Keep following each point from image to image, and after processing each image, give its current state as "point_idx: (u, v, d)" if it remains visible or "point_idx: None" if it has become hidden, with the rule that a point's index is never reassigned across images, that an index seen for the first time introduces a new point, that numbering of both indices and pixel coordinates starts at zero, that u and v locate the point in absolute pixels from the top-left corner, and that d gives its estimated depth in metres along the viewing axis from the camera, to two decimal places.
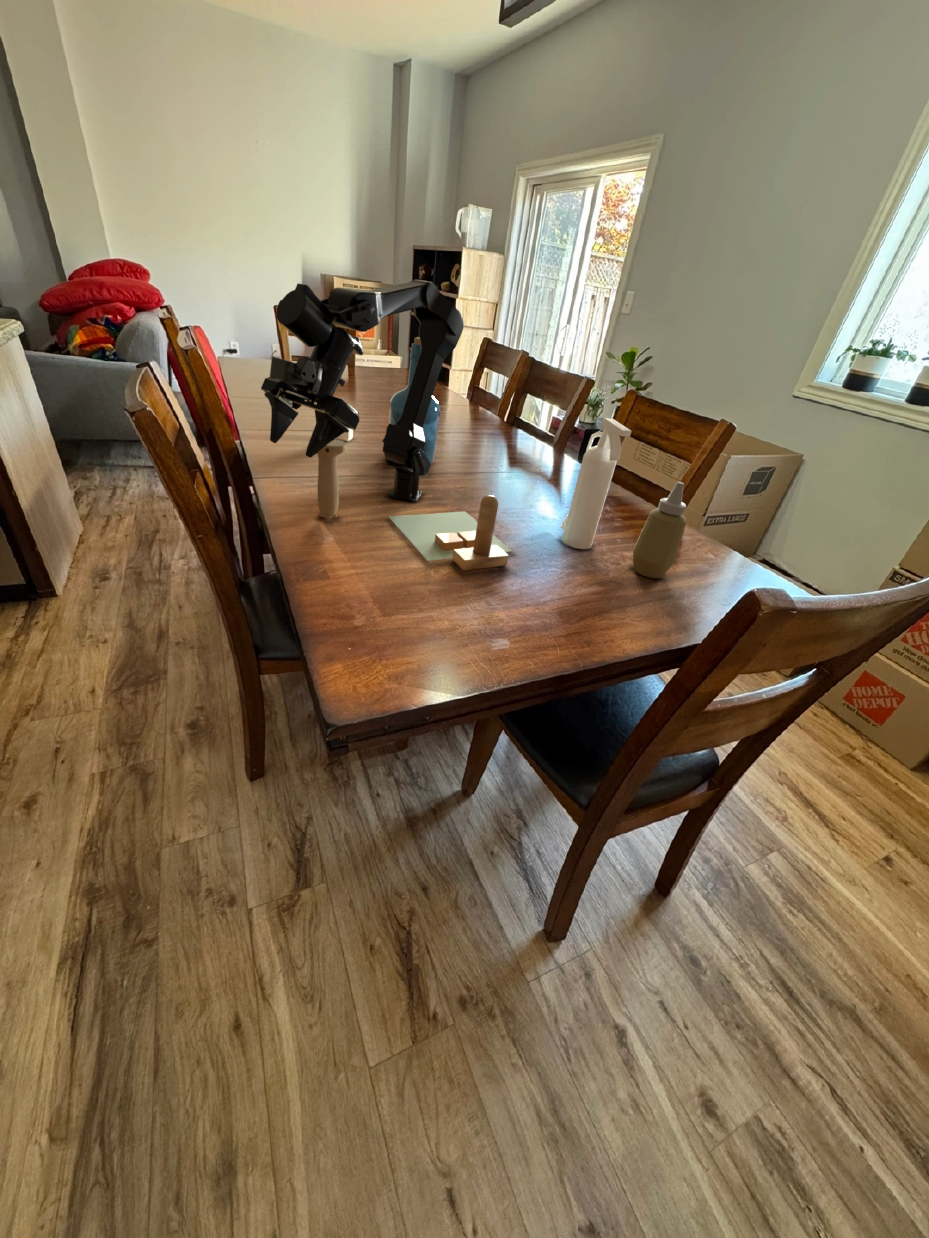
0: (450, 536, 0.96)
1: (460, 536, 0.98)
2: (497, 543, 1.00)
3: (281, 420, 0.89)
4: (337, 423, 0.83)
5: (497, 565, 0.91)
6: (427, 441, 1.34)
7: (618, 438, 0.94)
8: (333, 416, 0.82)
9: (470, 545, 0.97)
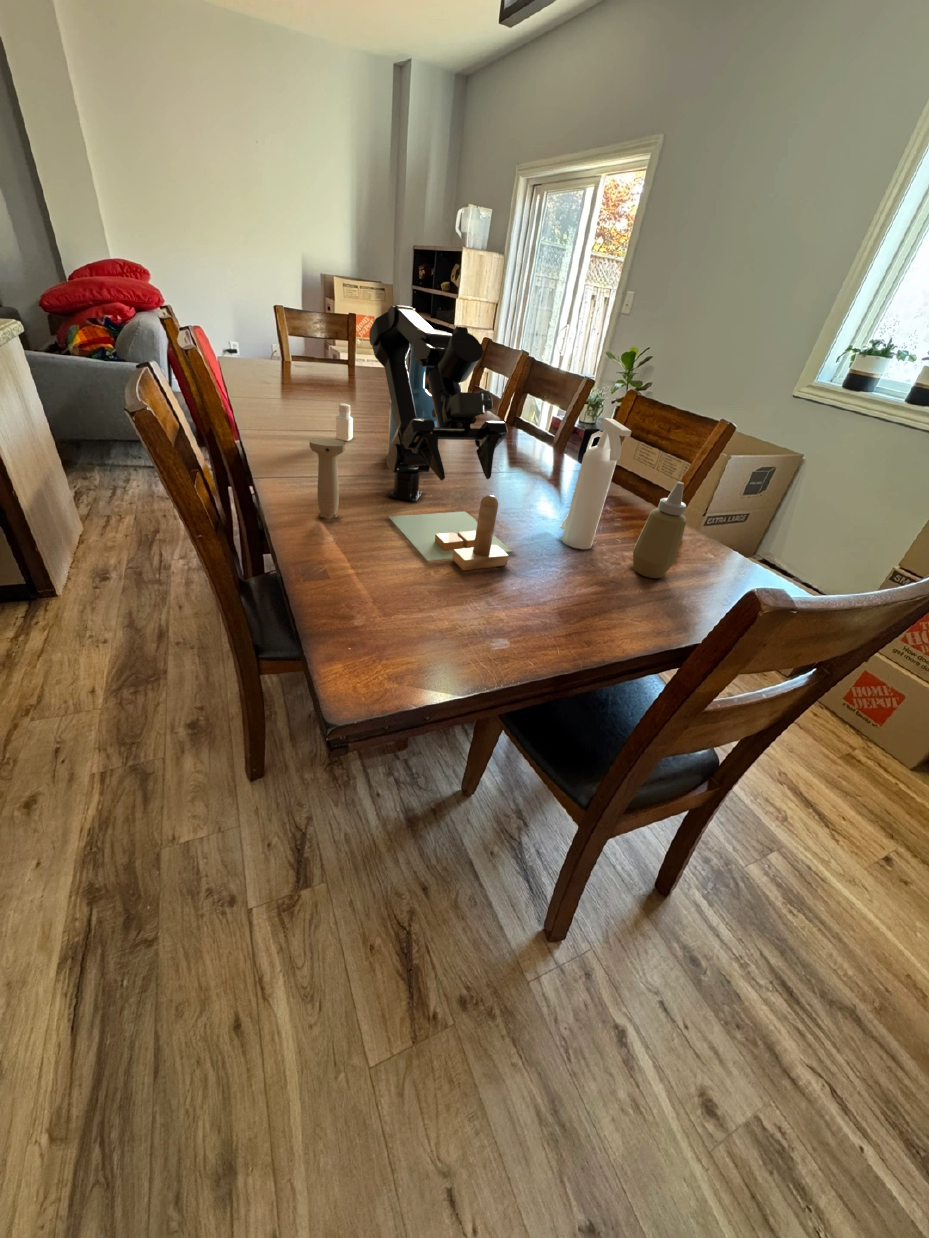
0: (450, 536, 0.96)
1: (460, 536, 0.98)
2: (497, 543, 1.00)
3: None
4: None
5: (497, 565, 0.91)
6: None
7: (618, 438, 0.94)
8: None
9: (470, 545, 0.97)
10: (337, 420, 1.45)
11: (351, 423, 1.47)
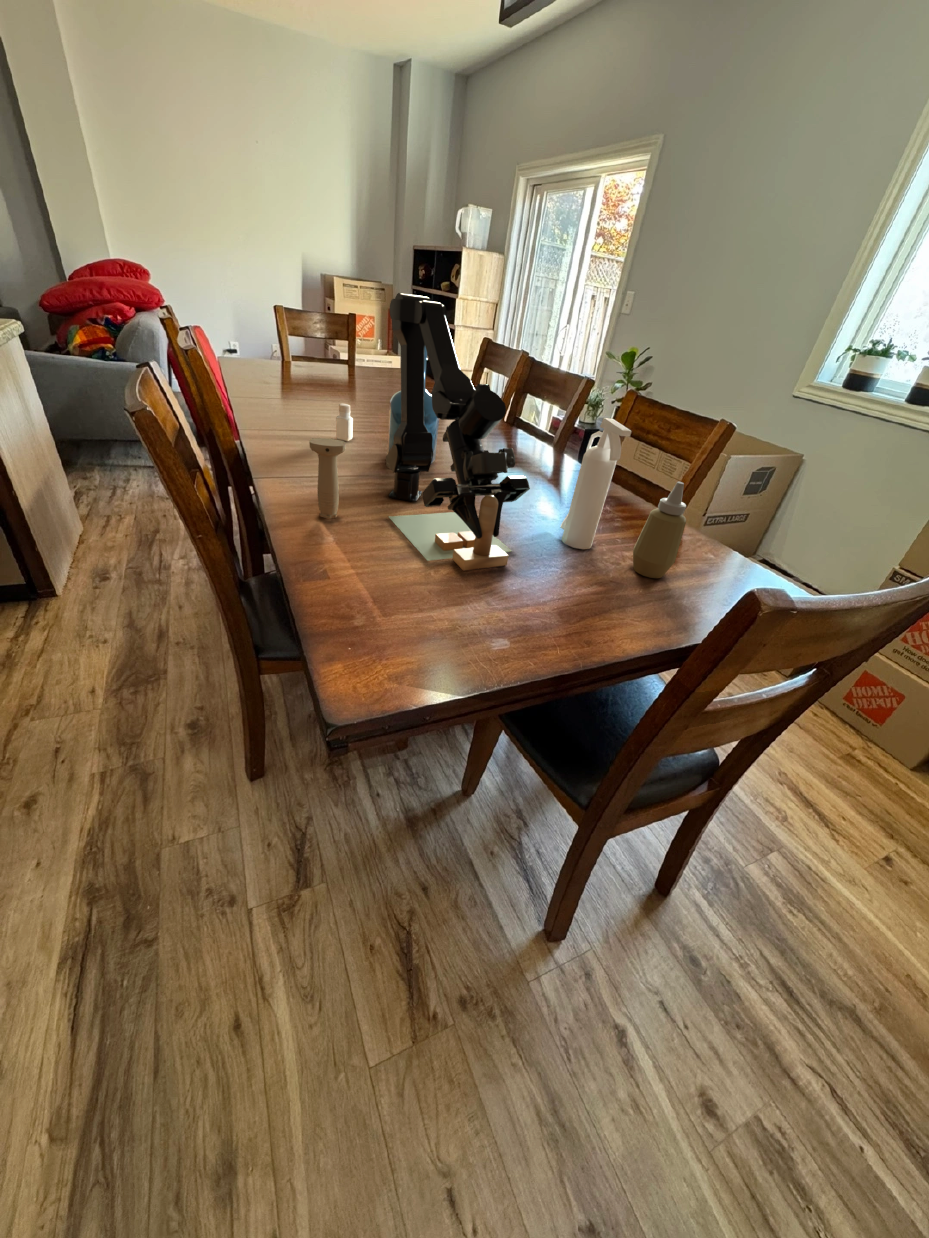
0: (450, 536, 0.96)
1: (460, 536, 0.98)
2: (497, 543, 1.00)
3: None
4: (504, 498, 0.91)
5: (497, 565, 0.91)
6: None
7: (618, 438, 0.94)
8: None
9: (470, 545, 0.97)
10: (337, 420, 1.45)
11: (351, 423, 1.47)
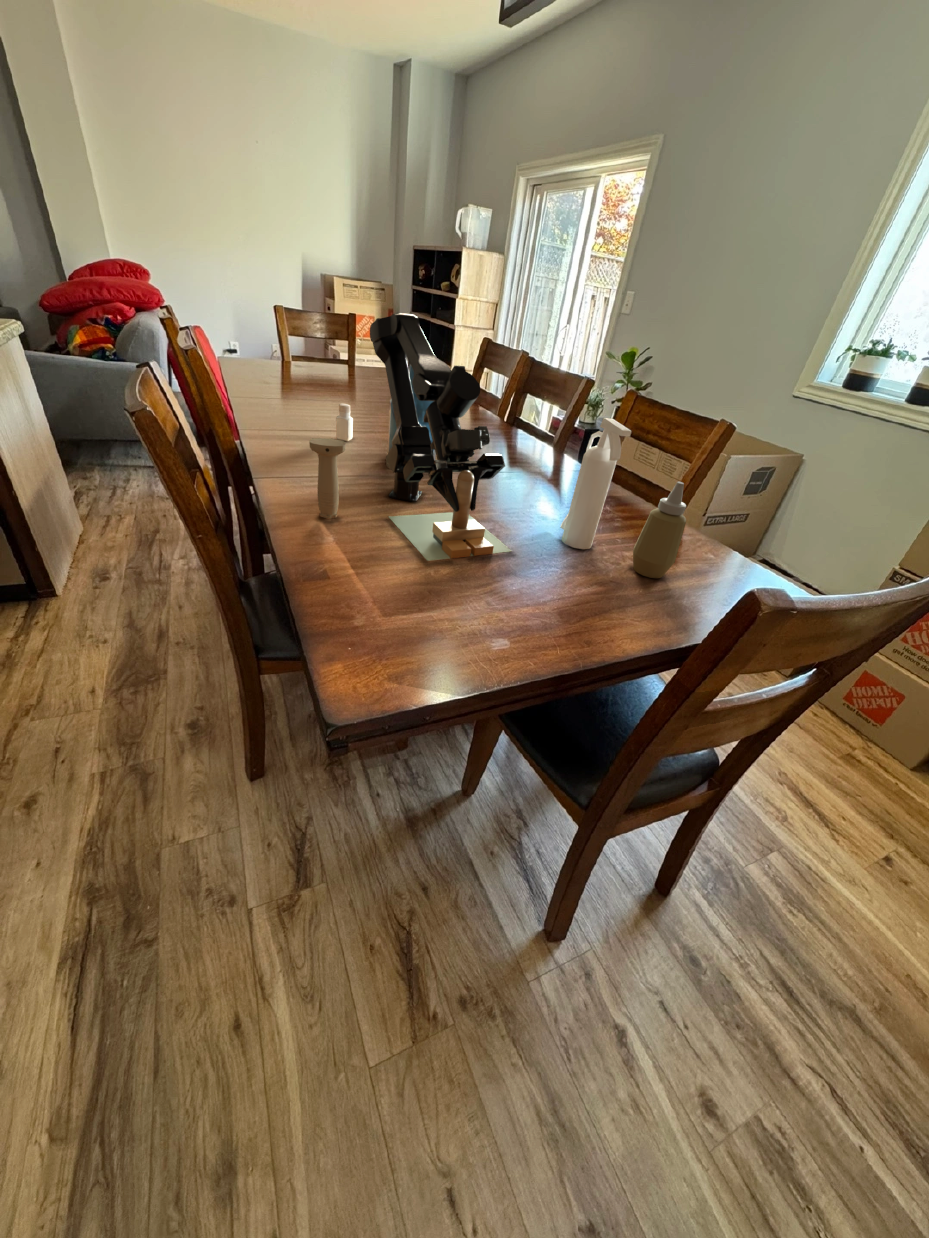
0: (457, 543, 0.94)
1: (468, 543, 0.96)
2: (497, 543, 1.00)
3: None
4: (481, 475, 0.97)
5: None
6: None
7: (618, 438, 0.94)
8: None
9: (478, 553, 0.94)
10: (337, 420, 1.45)
11: (351, 423, 1.47)
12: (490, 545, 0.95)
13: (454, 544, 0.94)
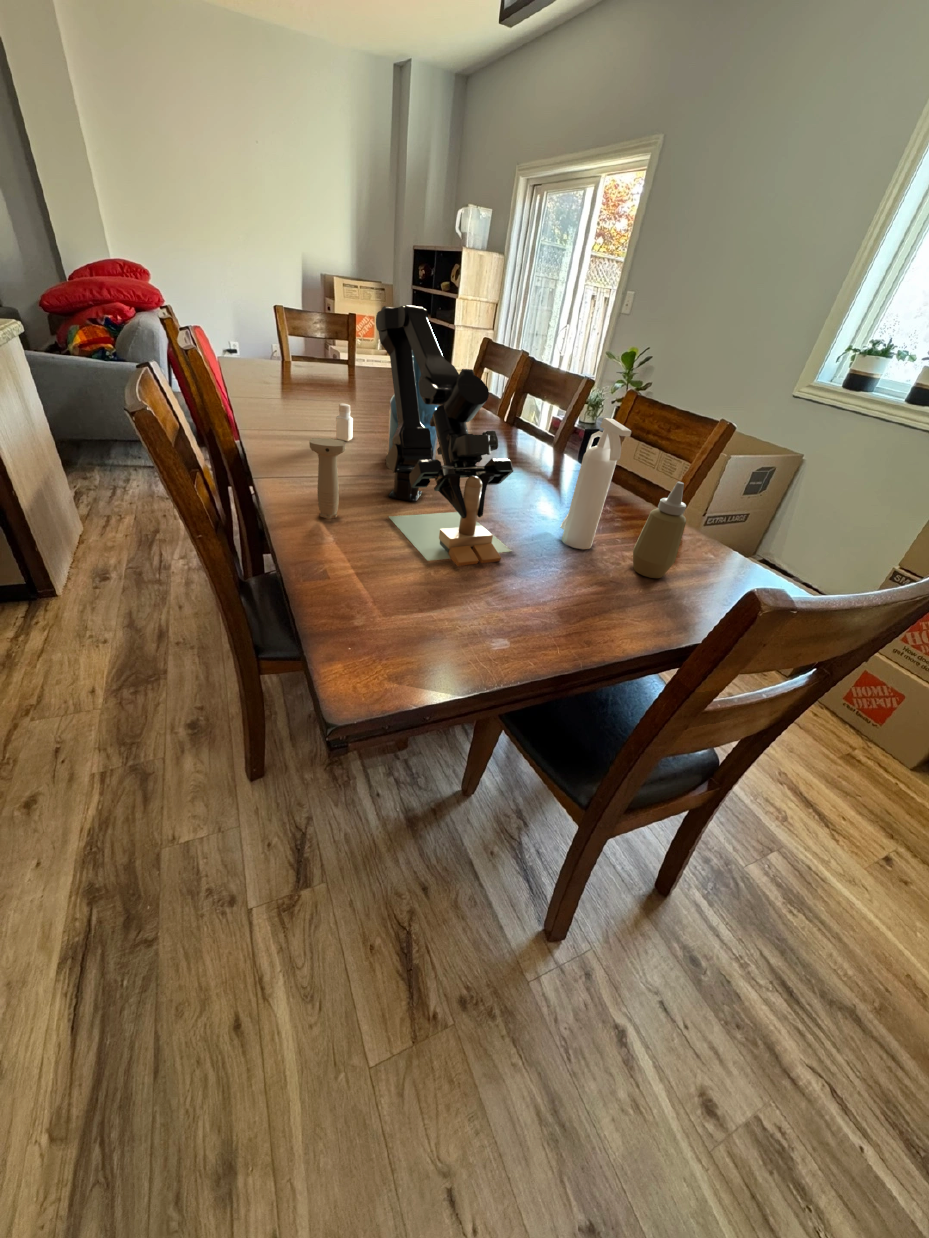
0: (465, 552, 0.92)
1: (475, 551, 0.93)
2: (497, 543, 1.00)
3: None
4: (489, 480, 0.94)
5: None
6: None
7: (618, 438, 0.94)
8: None
9: None
10: (337, 420, 1.45)
11: (351, 423, 1.47)
12: (498, 556, 0.93)
13: (462, 553, 0.91)
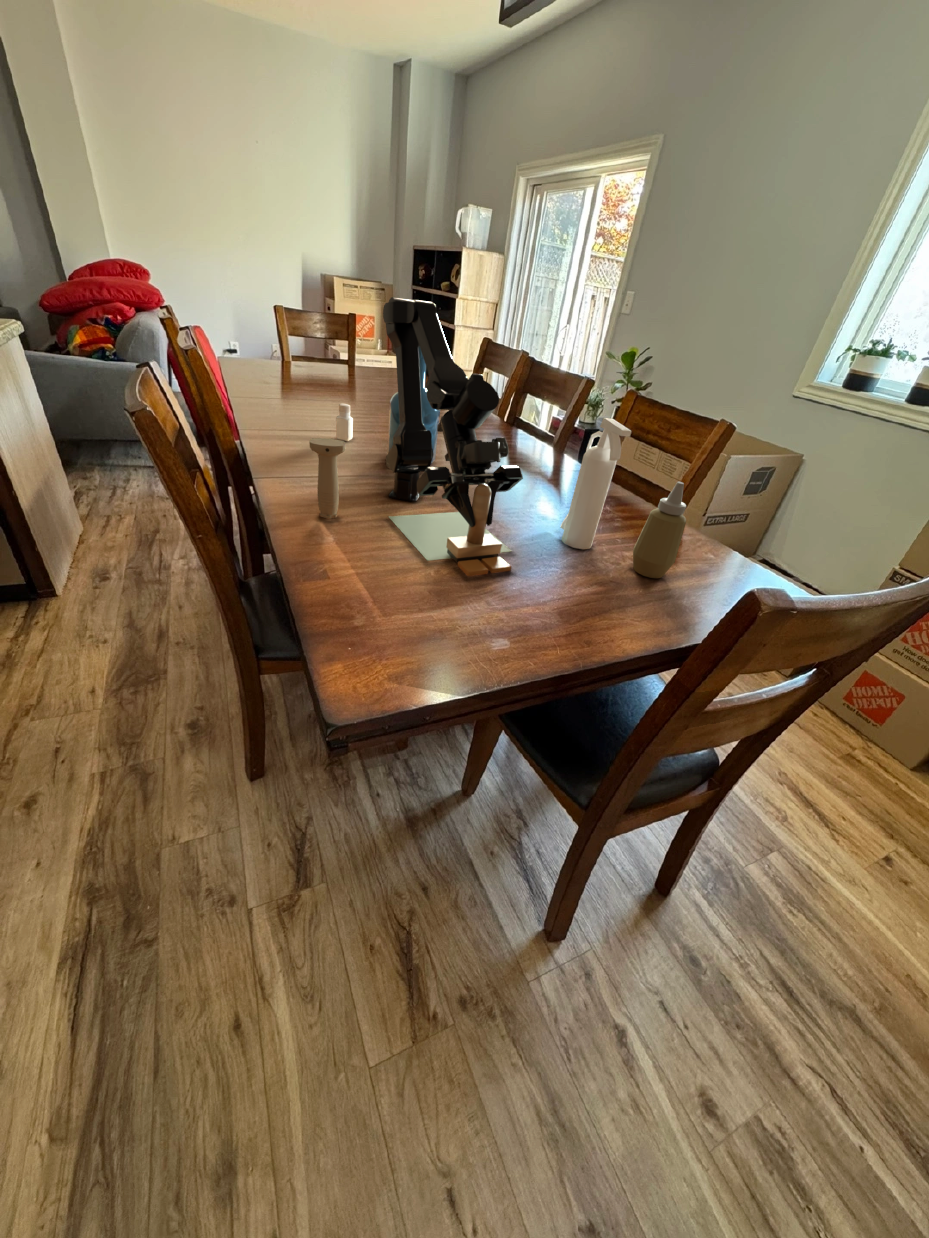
0: (474, 564, 0.90)
1: (484, 563, 0.91)
2: None
3: None
4: (498, 488, 0.92)
5: (490, 553, 0.93)
6: None
7: (618, 438, 0.94)
8: None
9: None
10: (337, 420, 1.45)
11: (351, 423, 1.47)
12: (508, 565, 0.91)
13: (470, 565, 0.89)
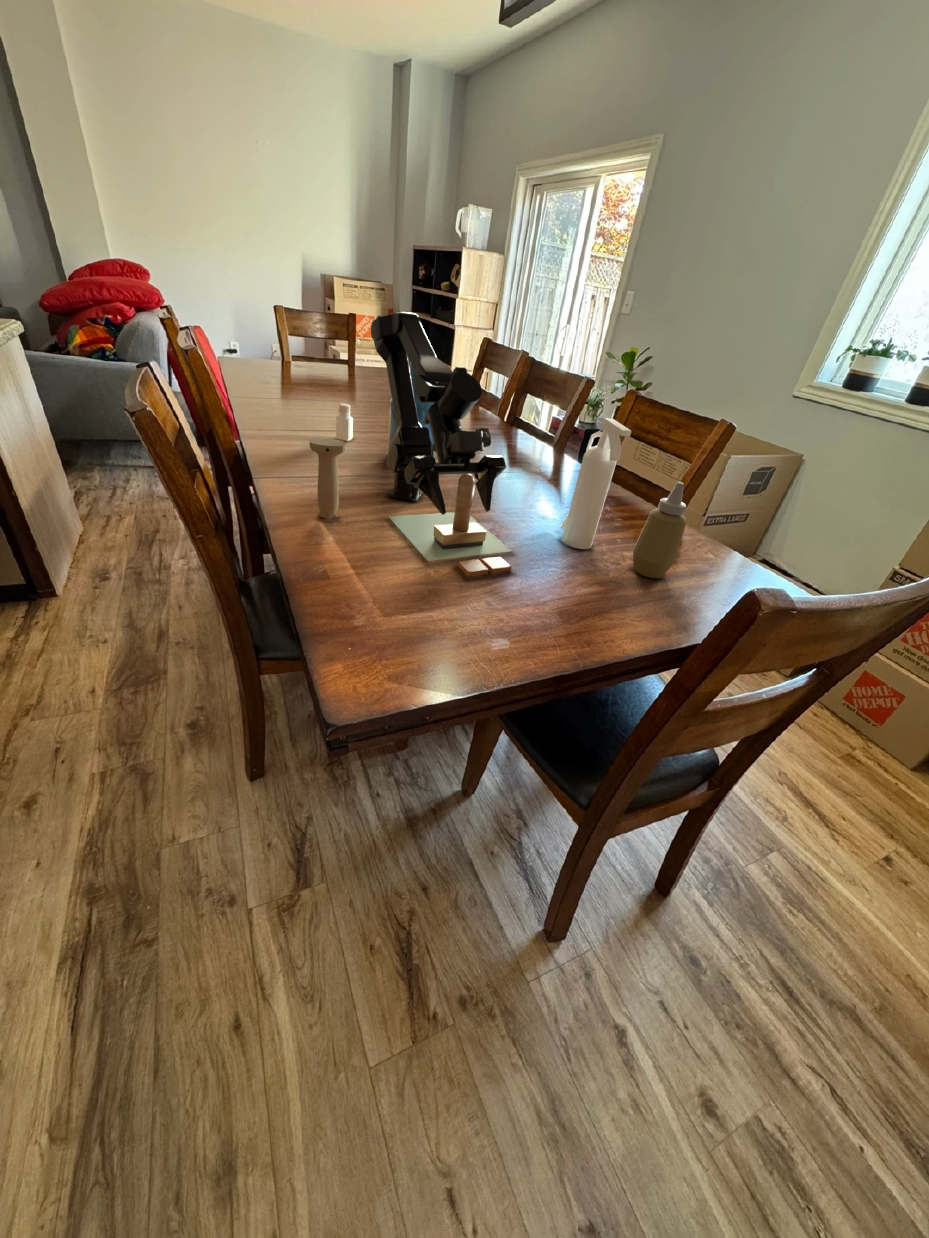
0: (474, 564, 0.90)
1: (484, 563, 0.91)
2: (497, 543, 1.00)
3: None
4: (496, 476, 0.98)
5: (475, 541, 0.97)
6: None
7: (618, 438, 0.94)
8: None
9: None
10: (337, 420, 1.45)
11: (351, 423, 1.47)
12: (508, 565, 0.91)
13: (470, 565, 0.89)
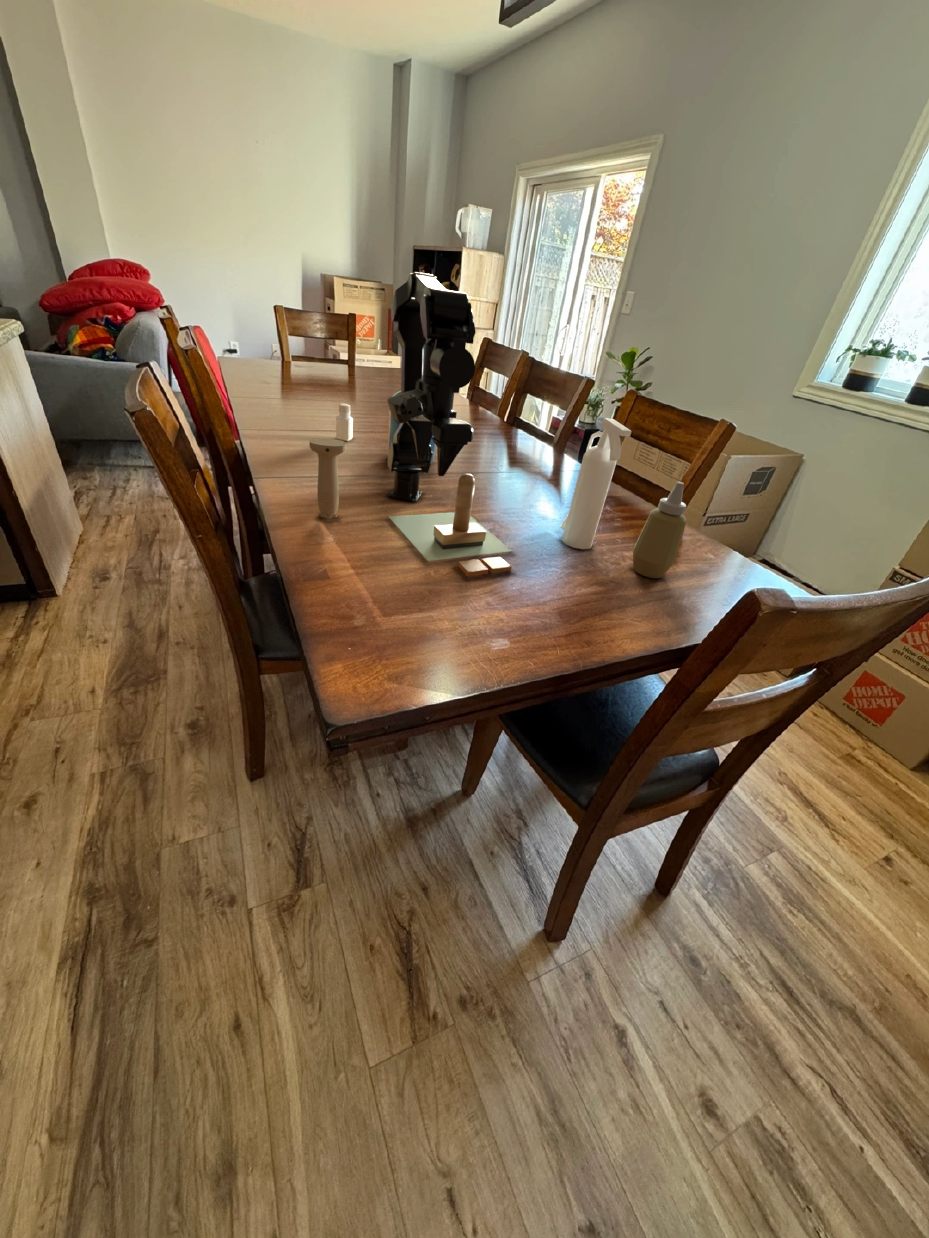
0: (474, 564, 0.90)
1: (484, 563, 0.91)
2: (497, 543, 1.00)
3: (421, 438, 0.96)
4: (452, 443, 0.86)
5: (475, 541, 0.97)
6: None
7: (618, 438, 0.94)
8: None
9: None
10: (337, 420, 1.45)
11: (351, 423, 1.47)
12: (508, 565, 0.91)
13: (470, 565, 0.89)
